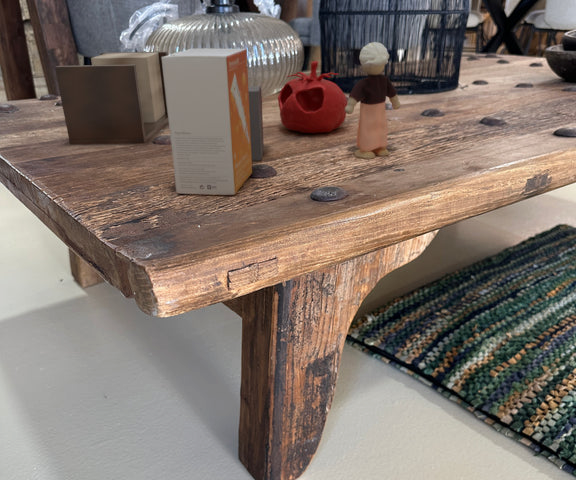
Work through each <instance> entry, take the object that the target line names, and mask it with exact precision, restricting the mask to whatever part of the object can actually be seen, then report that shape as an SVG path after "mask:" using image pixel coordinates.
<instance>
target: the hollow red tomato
mask: <svg viewBox="0 0 576 480" xmlns="http://www.w3.org/2000/svg"><path fill="white" fill-rule="evenodd" d="M318 66H319V62H318V60H314V61H311V62H310V73H309V75H308V74H306V73H305V72H303V71H297V72H296V73H293V74H291V75H288V76H286V78H290V77H296V78H293V79H290V80H288V81H287V82H286V83H284V85H283V86H282V88H281V90H280V91H279V94H278V96H277V101H278V108H279V117H280V121H281V124H282V126H284V127H285V128H286V129H287V130H289V131H293V132H300V133H303V134H324V133H331V132H332V131H333V130H336V129H338V128H339V127H341V125H342V124H343V123H344V122H345V119H346V116H347V113H346V112H345V107H346V106H347V102H348V99H347V96H346V94H345V93H344V92H343V90H342V88H340V87H339V86H338V84H337V83H335V82H333V81H331V80H328V79H331V78H332V75H334V76H337V75H338V74H339V72H338V73H335V72H328V73H322V74H320V75H318V73H317V70H318ZM325 78H328V79H325Z"/></svg>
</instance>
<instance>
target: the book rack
mask: <svg viewBox="0 0 576 480" xmlns="http://www.w3.org/2000/svg"><path fill="white" fill-rule="evenodd" d="M164 56H168V52H167V51H126V52H125V51H122V52H120V51H119V52H117V51H116V52H100V53H99V55H97V56H96V55H95V56H93V57H91V58H90V61H91V65H90V64H89V65H86V64H85V65H57V66H55V67H54V70H55V75H56V80H57V87H58V92H59V97H60V101H61V106H62V111H63V116H64V122H65V126H66V132H67V136H68V141H69V145H115V144H116V145H122V144H123V145H124V144H133V145H134V144H146V143H147V142H148V141H149V140H150V139H151V138H152V137H153V136H154V135H155V134H157V133H158V132H159V131H160V130H161V129H162V128H163V127H164V126H165V125H166V124H168V123H169V121H168V112H167V103H166V94H165V85H164V76H163V67H162V57H164Z"/></svg>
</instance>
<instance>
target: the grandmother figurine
mask: <svg viewBox="0 0 576 480" xmlns="http://www.w3.org/2000/svg"><path fill="white" fill-rule="evenodd" d="M358 59H359V62H360V65H361V67H362V71H363V72H364V74H366V75H367V76H366V77H365V78H362V79H360V80H358V81H357V82H356V83H355V84H354V86H353V87H352V89H351V91H350V93H349V94H348V99H347V106H346V107H345V112H346V115H352V114H354V111H355V107H356V106H357V105H358V103H359V118H358V123H357V125H358V126H357V133H356V143H355V144H356V145H355V146H356V148H358V149H357V150H356V151H355V153H354V157H356V158H361V159H365V160H371V159H375V158H376V156H378V157H379V156H380V157H383V156H384V157H385V156H389V155H390V151H388V149H387V147H388V145H389V143H388V137H389V135H388V134H389V133H388V131H389V130H388V129H389V127H388V119H387V109H386V100H387V98H388V99H389V102H390V103H391V107H392V109H393V110H395V111H396V110H399V109H400V108H401V105H402V104H401V102H400V100H399V96H398V91H397V89H396V87H395V86H394V84H393V83H392V81H391V80H390V78H389V77H388V75H384V74H382V73H383V72H384V69H385V66H386V65H387V64H388V63H389V59H390V54H389V52H388V49H387V47H385V46H384V44H382V43H381V42H377V41H372V42H369V43H368V44H366V45H365V46H363V47H362V48H361V49H360V51H359V58H358Z"/></svg>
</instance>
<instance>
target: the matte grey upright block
mask: <svg viewBox="0 0 576 480" xmlns="http://www.w3.org/2000/svg"><path fill="white" fill-rule="evenodd" d="M248 91H249V114H250V136H251V157H252V161H253V162H256V161H257V162H259V161H260V162H261V161H262V159H263V156H264V153H265V145H264V142H265V141H264V121H263V97H262V96H263V93H262V86H261V85H248Z"/></svg>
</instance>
